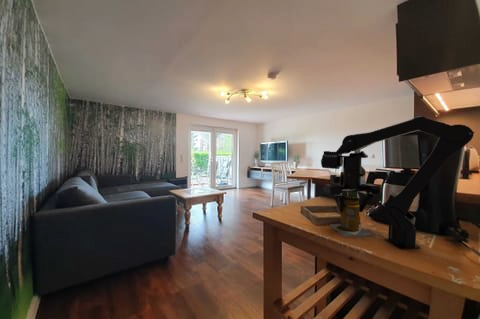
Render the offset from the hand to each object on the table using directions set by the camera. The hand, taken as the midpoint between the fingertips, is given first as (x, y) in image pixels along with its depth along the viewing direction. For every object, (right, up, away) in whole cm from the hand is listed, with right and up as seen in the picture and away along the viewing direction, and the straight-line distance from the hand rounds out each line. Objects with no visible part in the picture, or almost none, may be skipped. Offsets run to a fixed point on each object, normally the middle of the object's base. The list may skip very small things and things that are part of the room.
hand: (350, 212), depth 73 cm
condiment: (-1, -7, 0) cm, 7 cm away
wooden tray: (-2, -6, +14) cm, 16 cm away
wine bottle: (+20, -6, +31) cm, 37 cm away
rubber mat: (0, -7, 0) cm, 7 cm away
